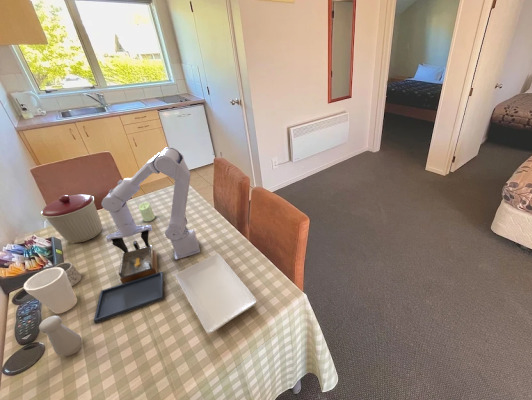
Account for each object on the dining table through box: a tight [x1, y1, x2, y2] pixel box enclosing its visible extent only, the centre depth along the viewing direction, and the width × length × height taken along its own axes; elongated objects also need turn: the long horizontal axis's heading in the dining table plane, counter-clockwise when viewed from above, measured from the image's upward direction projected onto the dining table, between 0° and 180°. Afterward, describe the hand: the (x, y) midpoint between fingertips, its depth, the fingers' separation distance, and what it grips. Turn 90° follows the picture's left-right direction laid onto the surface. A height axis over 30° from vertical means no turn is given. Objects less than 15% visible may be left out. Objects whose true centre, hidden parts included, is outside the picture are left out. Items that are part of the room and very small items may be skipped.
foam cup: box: [23, 266, 78, 315], centre depth 86 cm, size 10×9×13 cm
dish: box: [118, 240, 155, 278], centre depth 101 cm, size 10×14×5 cm
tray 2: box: [174, 252, 258, 335], centre depth 92 cm, size 17×32×4 cm, turn 42°
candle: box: [138, 201, 156, 222], centre depth 131 cm, size 5×5×8 cm
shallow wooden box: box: [119, 249, 158, 284], centre depth 102 cm, size 11×12×3 cm
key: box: [135, 258, 140, 267], centre depth 101 cm, size 4×2×1 cm, turn 28°
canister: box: [39, 194, 103, 244], centre depth 117 cm, size 18×18×21 cm
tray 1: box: [93, 271, 165, 324], centre depth 92 cm, size 19×13×1 cm
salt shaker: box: [38, 315, 83, 357], centre depth 73 cm, size 6×6×13 cm
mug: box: [54, 261, 82, 287], centre depth 96 cm, size 10×7×7 cm
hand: (137, 249), depth 106 cm, fingers closed on dish, 7 cm apart
